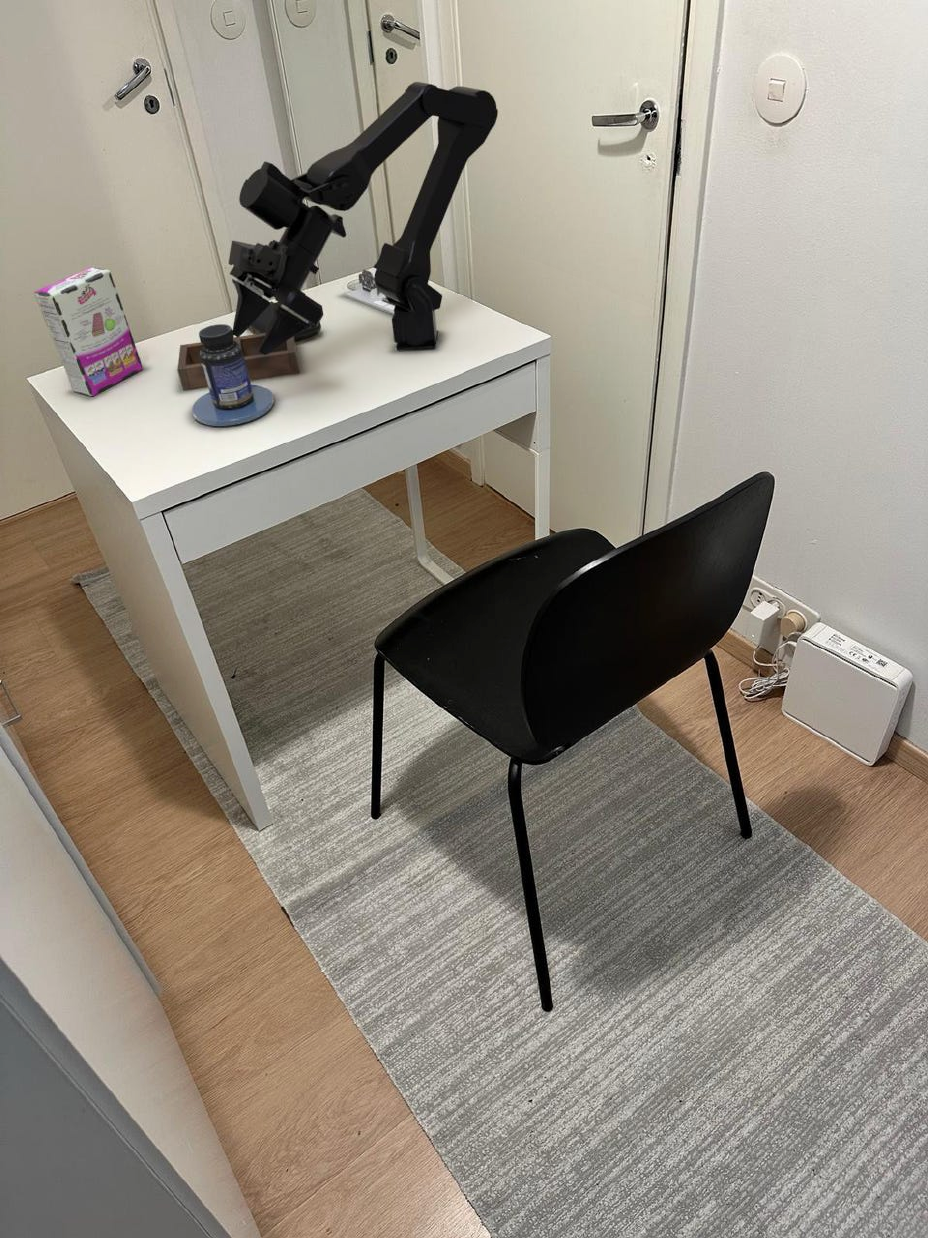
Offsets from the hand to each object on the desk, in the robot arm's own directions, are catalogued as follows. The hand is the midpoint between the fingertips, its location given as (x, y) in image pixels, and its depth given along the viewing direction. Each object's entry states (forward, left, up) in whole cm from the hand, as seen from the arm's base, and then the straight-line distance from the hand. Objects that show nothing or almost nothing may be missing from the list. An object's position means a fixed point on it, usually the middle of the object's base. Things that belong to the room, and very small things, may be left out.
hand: (248, 344), depth 132 cm
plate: (+3, +3, -9) cm, 10 cm away
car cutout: (-14, -38, -9) cm, 42 cm away
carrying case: (+2, -26, -9) cm, 28 cm away
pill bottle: (+3, +3, -8) cm, 9 cm away
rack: (+6, -11, -9) cm, 15 cm away
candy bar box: (+28, -9, -9) cm, 30 cm away
